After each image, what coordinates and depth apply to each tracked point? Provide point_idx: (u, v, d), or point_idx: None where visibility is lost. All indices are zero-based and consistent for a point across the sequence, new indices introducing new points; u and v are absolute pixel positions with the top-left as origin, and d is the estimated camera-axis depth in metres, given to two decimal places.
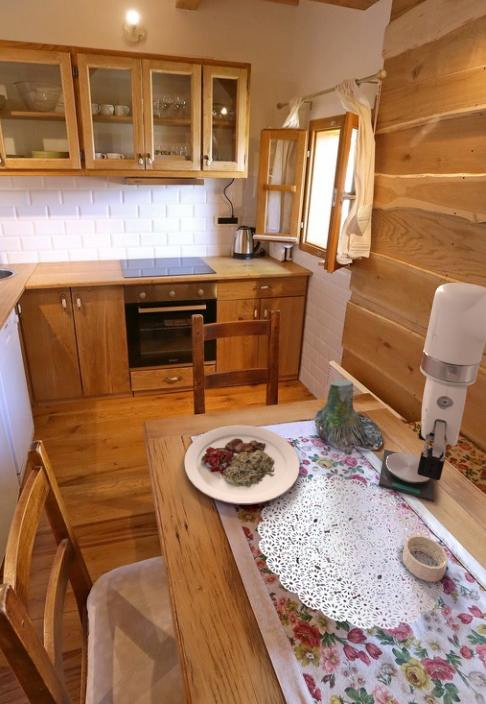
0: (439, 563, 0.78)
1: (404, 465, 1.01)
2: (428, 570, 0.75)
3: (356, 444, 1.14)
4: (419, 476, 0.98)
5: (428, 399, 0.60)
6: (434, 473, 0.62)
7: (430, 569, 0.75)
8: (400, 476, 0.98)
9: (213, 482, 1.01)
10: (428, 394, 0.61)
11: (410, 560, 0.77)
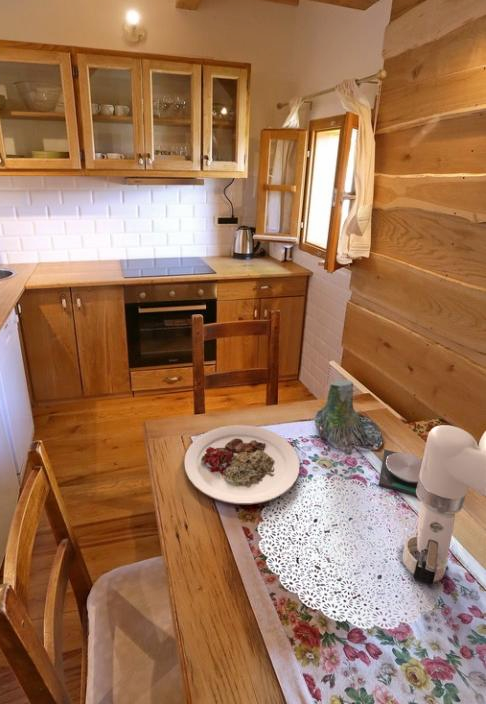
0: (439, 563, 0.78)
1: (404, 465, 1.01)
2: None
3: (356, 444, 1.14)
4: None
5: (422, 521, 0.72)
6: (427, 580, 0.74)
7: None
8: (400, 476, 0.98)
9: (213, 482, 1.01)
10: (422, 517, 0.72)
11: (410, 560, 0.77)
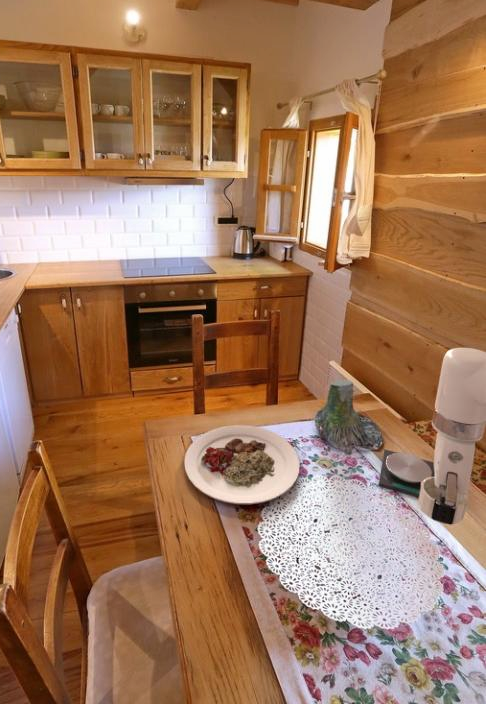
0: (458, 504, 0.73)
1: (404, 465, 1.01)
2: None
3: (356, 444, 1.14)
4: (419, 476, 0.98)
5: (440, 453, 0.67)
6: (447, 519, 0.68)
7: None
8: (400, 476, 0.98)
9: (213, 482, 1.01)
10: (440, 448, 0.67)
11: (427, 501, 0.72)
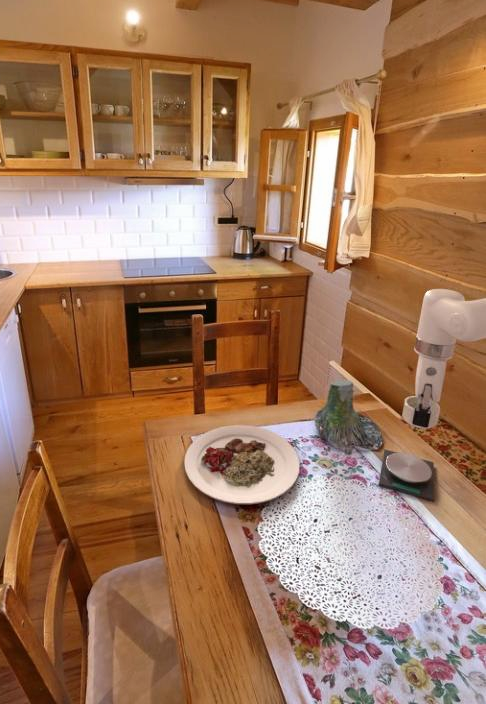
0: None
1: (404, 465, 1.01)
2: None
3: (356, 444, 1.14)
4: (419, 476, 0.98)
5: (419, 370, 0.87)
6: (424, 422, 0.89)
7: None
8: (400, 476, 0.98)
9: (213, 482, 1.01)
10: (420, 366, 0.87)
11: (408, 411, 0.92)
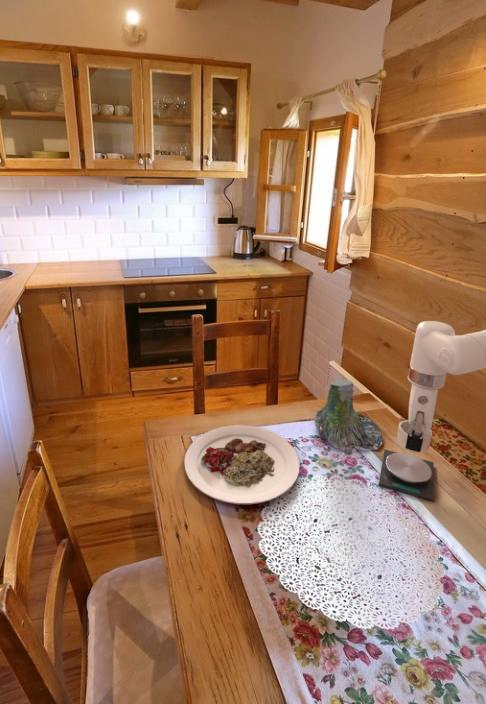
0: None
1: (404, 465, 1.01)
2: None
3: (356, 444, 1.14)
4: (419, 476, 0.98)
5: (412, 398, 0.91)
6: (416, 447, 0.93)
7: None
8: (400, 476, 0.98)
9: (213, 482, 1.01)
10: (412, 394, 0.91)
11: (402, 435, 0.96)
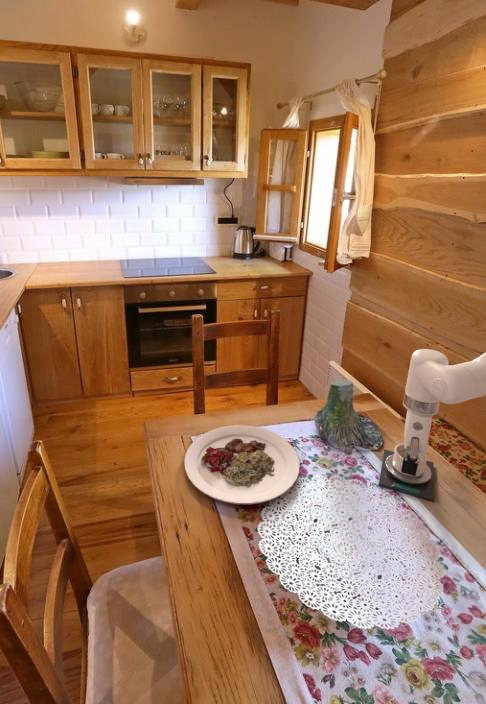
0: None
1: None
2: None
3: (356, 444, 1.14)
4: (419, 476, 0.98)
5: (407, 423, 0.93)
6: (411, 471, 0.96)
7: None
8: (400, 477, 0.98)
9: (213, 482, 1.01)
10: (407, 420, 0.94)
11: (398, 459, 0.99)
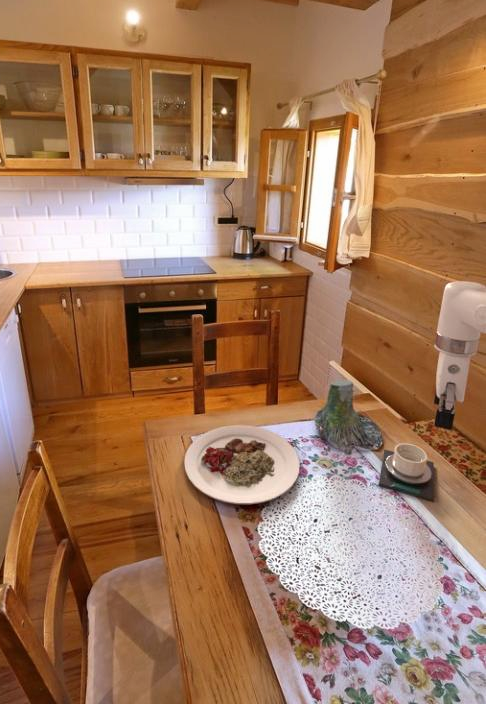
0: None
1: None
2: (412, 464, 0.96)
3: (356, 444, 1.14)
4: (419, 476, 0.98)
5: (441, 367, 0.81)
6: (447, 424, 0.82)
7: (413, 463, 0.96)
8: (400, 477, 0.98)
9: (213, 482, 1.01)
10: (441, 364, 0.82)
11: (398, 459, 0.99)
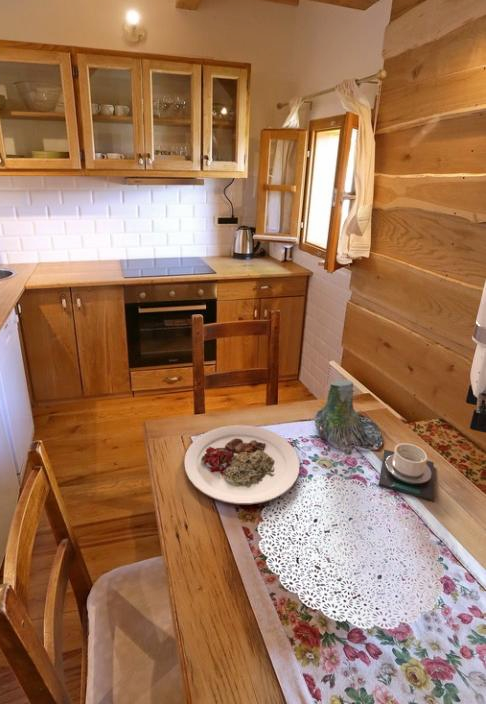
0: None
1: None
2: (412, 464, 0.96)
3: (356, 444, 1.14)
4: (419, 476, 0.98)
5: (481, 363, 0.72)
6: (485, 426, 0.73)
7: (413, 463, 0.96)
8: (400, 477, 0.98)
9: (213, 482, 1.01)
10: (481, 359, 0.72)
11: (398, 459, 0.99)
